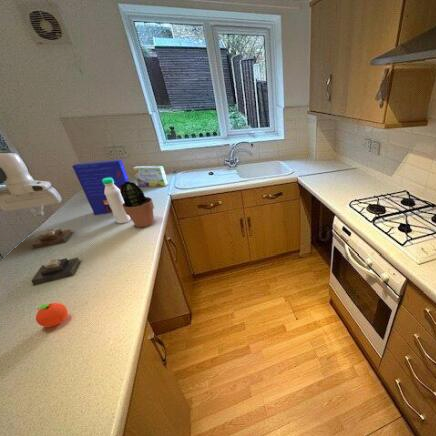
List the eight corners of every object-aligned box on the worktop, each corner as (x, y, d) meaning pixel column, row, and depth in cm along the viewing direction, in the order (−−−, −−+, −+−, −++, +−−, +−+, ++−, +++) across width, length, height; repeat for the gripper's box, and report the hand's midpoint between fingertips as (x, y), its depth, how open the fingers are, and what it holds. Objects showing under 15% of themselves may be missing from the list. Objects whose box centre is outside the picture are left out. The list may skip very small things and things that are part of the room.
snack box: (138, 186, 185) (131, 167, 178) (142, 184, 190) (136, 165, 183) (165, 186, 184) (159, 167, 177) (168, 184, 189) (163, 165, 182)
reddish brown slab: (33, 248, 112) (29, 241, 110) (42, 238, 120) (38, 231, 119) (65, 242, 117) (61, 235, 115) (72, 232, 125) (68, 226, 123)
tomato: (33, 329, 73) (21, 313, 70) (57, 311, 79) (46, 295, 76) (55, 333, 72) (42, 317, 69) (77, 314, 78) (66, 299, 75)
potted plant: (163, 221, 134) (150, 178, 122) (139, 232, 124) (121, 187, 112) (150, 215, 140) (136, 174, 129) (126, 225, 130) (108, 182, 119)
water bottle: (117, 225, 131) (99, 181, 119) (115, 220, 136) (98, 178, 124) (132, 221, 135) (115, 178, 123) (130, 216, 140) (114, 175, 128)
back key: (44, 237, 115) (42, 233, 114) (47, 233, 118) (45, 230, 117) (53, 235, 116) (51, 232, 115) (56, 231, 119) (54, 228, 118)
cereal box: (137, 205, 154) (121, 158, 140) (136, 208, 149) (118, 161, 135) (98, 211, 148) (76, 163, 134) (94, 215, 143) (72, 165, 129)
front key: (46, 269, 93) (44, 266, 92) (50, 264, 96) (48, 260, 95) (58, 266, 94) (56, 263, 94) (61, 261, 97) (59, 258, 96)
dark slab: (33, 285, 91) (28, 277, 89) (44, 269, 99) (39, 261, 97) (73, 275, 95) (68, 267, 93) (80, 261, 103) (76, 254, 101)
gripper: (-14, 194, 99) (6, 223, 106) (49, 185, 106) (64, 213, 113) (-5, 189, 104) (13, 217, 111) (54, 181, 111) (68, 208, 118)
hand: (39, 215), depth 112 cm, fingers closed
